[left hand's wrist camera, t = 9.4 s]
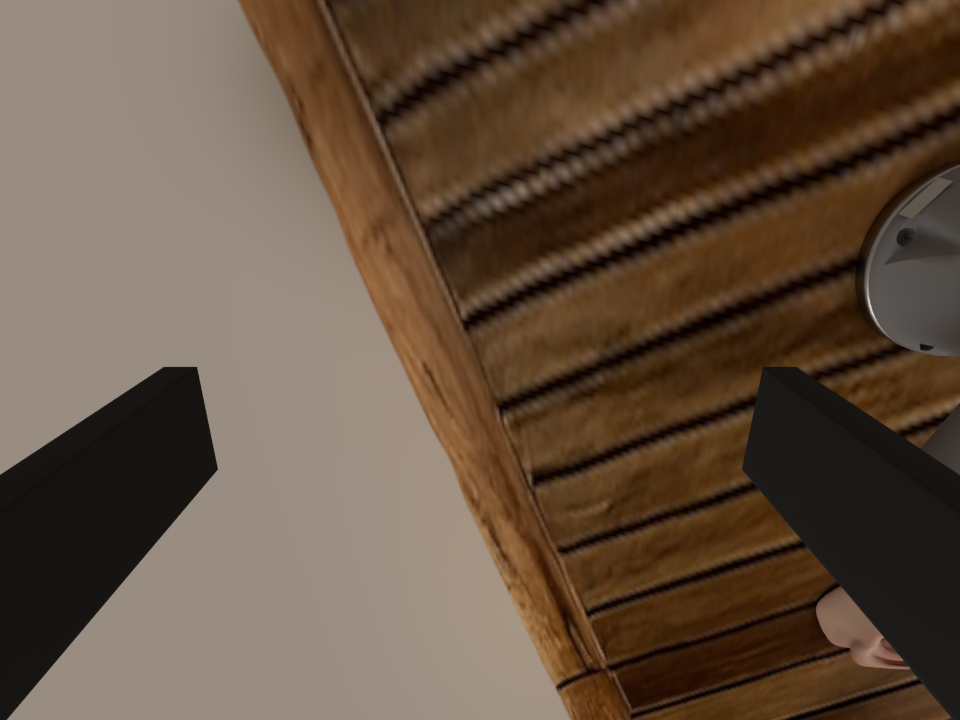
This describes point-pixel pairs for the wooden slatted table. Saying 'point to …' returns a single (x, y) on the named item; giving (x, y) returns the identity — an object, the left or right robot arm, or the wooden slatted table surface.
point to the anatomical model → (855, 632)
